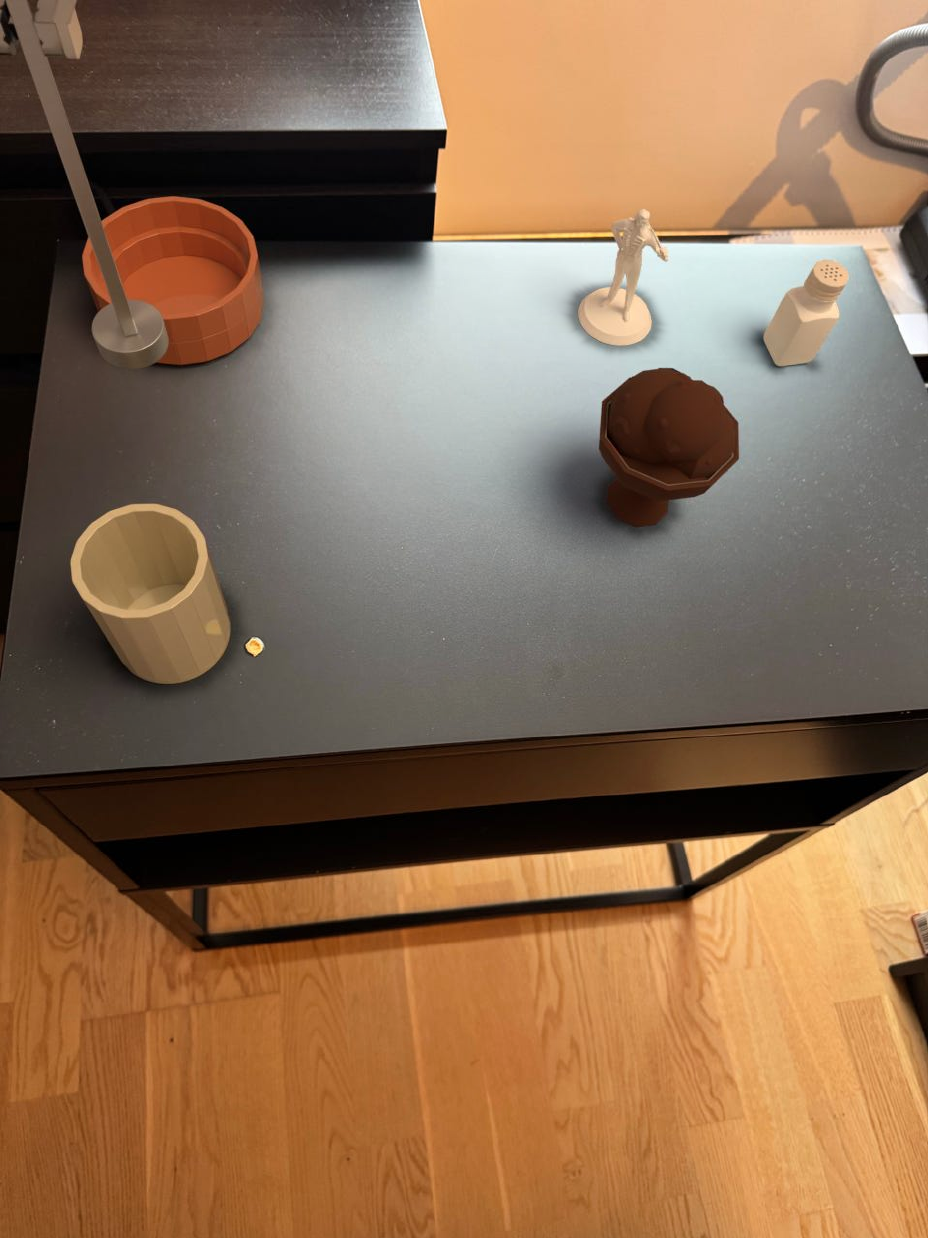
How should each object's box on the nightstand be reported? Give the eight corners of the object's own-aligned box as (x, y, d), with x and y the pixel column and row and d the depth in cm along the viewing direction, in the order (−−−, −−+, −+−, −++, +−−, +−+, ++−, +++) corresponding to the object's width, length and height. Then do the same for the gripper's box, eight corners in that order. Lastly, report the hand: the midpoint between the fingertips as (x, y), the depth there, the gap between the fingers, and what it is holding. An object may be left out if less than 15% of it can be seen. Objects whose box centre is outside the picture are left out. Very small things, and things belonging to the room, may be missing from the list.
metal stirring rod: (107, 377, 57) (-51, -21, 36) (91, 326, 59) (-70, -83, 38) (176, 359, 58) (62, -37, 37) (158, 310, 60) (39, -97, 39)
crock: (121, 695, 65) (76, 630, 55) (109, 593, 69) (65, 514, 59) (239, 671, 67) (216, 603, 57) (221, 573, 70) (197, 492, 60)
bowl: (110, 380, 77) (91, 329, 72) (94, 261, 83) (75, 205, 78) (276, 356, 80) (269, 306, 75) (250, 243, 86) (242, 188, 81)
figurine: (562, 315, 85) (589, 207, 75) (608, 278, 88) (640, 168, 77) (621, 357, 84) (658, 254, 73) (666, 318, 86) (708, 212, 76)
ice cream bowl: (724, 499, 78) (797, 381, 64) (646, 579, 73) (707, 470, 60) (629, 426, 80) (680, 298, 67) (548, 499, 76) (585, 378, 63)
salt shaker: (759, 337, 86) (801, 258, 78) (796, 332, 87) (842, 253, 79) (774, 369, 85) (819, 291, 76) (813, 364, 86) (861, 287, 77)
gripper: (223, -390, 31) (266, 19, 44) (-422, -456, 29) (-184, -7, 42) (210, -306, 29) (260, 105, 41) (-501, -371, 27) (-222, 81, 39)
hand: (32, 48), depth 41 cm, fingers closed on metal stirring rod
